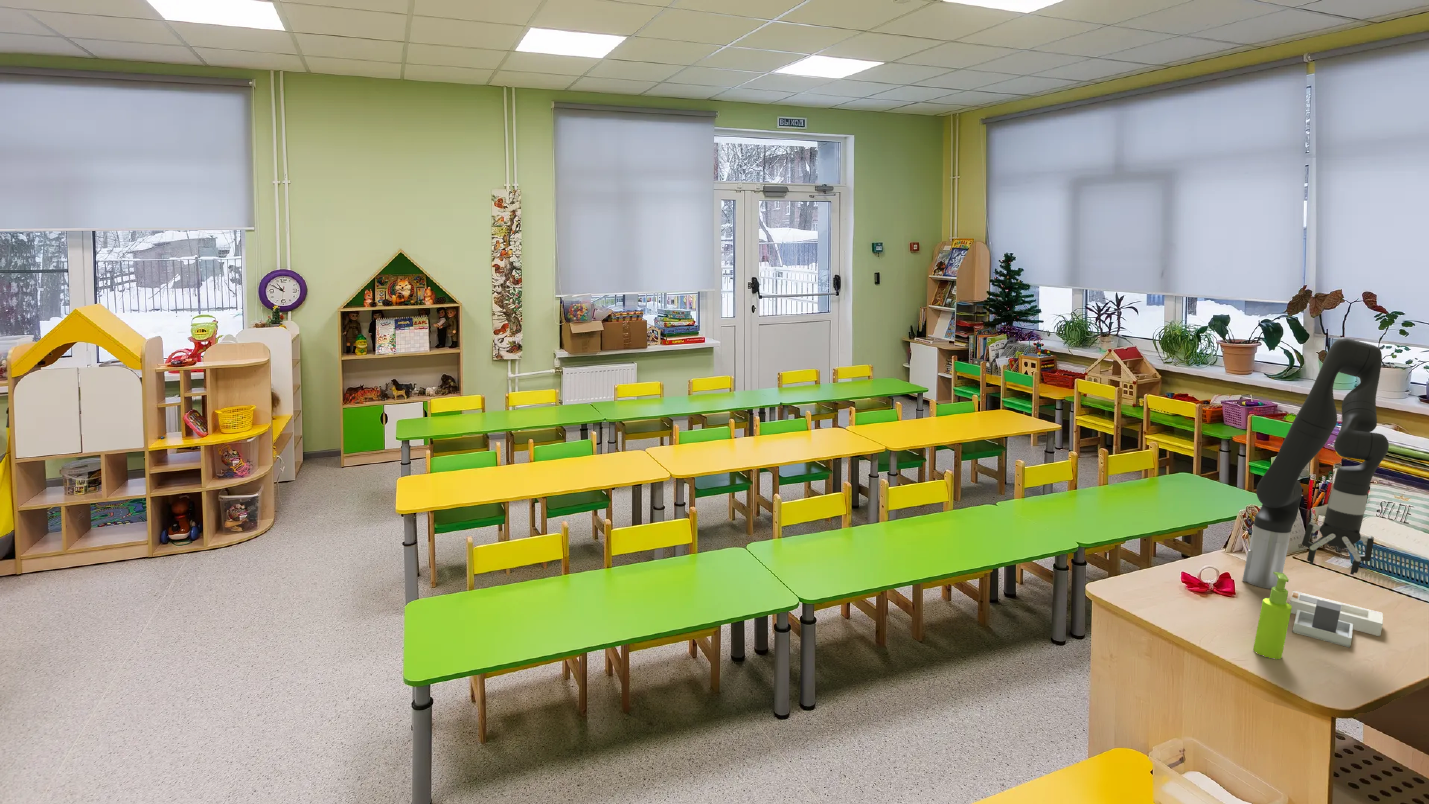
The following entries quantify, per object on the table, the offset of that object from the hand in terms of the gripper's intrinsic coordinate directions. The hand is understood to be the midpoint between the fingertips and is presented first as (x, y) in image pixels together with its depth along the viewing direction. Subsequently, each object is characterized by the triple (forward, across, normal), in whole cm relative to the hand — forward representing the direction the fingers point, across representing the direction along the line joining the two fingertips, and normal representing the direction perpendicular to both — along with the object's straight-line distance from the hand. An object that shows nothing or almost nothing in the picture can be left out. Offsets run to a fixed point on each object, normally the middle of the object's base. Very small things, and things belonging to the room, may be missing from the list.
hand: (1331, 568), depth 216 cm
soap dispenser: (+18, -8, -24) cm, 31 cm away
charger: (+17, +1, 0) cm, 17 cm away
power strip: (+18, +3, +13) cm, 22 cm away
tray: (+18, +1, 0) cm, 18 cm away
